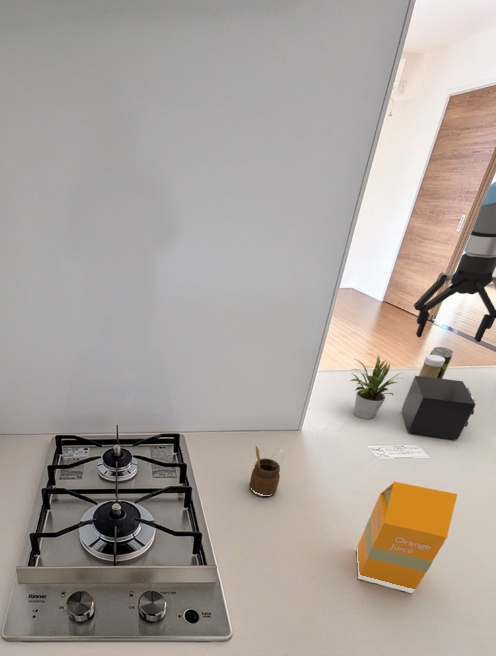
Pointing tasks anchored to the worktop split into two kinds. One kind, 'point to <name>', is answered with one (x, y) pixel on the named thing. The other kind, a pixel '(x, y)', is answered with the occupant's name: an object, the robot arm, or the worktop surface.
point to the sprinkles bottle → (432, 366)
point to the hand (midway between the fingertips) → (447, 337)
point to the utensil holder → (265, 475)
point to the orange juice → (405, 533)
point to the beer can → (445, 354)
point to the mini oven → (438, 407)
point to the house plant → (371, 391)
